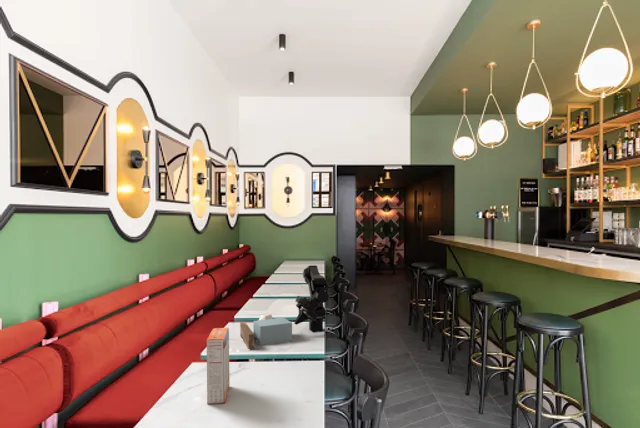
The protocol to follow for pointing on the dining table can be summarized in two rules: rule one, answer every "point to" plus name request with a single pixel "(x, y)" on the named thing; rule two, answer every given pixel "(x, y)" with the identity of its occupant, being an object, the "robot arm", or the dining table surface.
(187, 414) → the dining table surface
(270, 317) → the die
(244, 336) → the walnut board
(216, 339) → the cracker box
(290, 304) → the dining table surface
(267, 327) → the slate block
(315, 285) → the robot arm
